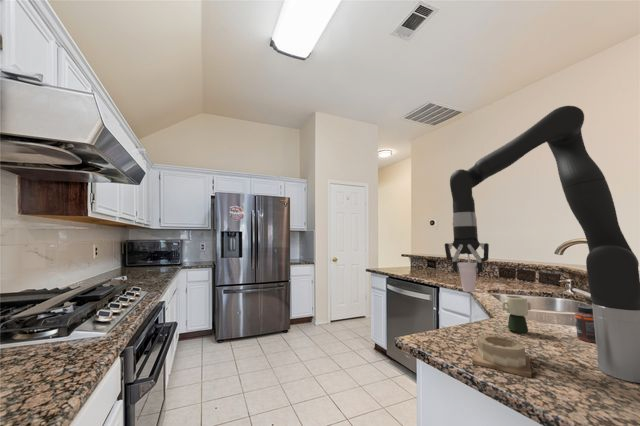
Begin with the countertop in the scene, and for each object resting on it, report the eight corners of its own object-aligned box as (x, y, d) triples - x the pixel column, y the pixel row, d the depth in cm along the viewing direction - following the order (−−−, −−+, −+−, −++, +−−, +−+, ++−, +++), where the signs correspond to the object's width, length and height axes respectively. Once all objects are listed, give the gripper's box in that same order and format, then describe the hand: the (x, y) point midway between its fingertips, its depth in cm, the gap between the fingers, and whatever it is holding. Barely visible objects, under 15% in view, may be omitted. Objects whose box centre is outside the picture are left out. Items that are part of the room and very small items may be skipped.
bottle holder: (529, 359, 77) (527, 340, 78) (531, 377, 67) (529, 355, 68) (477, 349, 85) (476, 331, 86) (472, 363, 75) (471, 343, 75)
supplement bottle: (606, 343, 90) (602, 309, 91) (588, 343, 90) (585, 309, 92) (589, 337, 96) (586, 305, 97) (572, 337, 96) (569, 304, 97)
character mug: (525, 328, 105) (522, 295, 107) (540, 335, 98) (537, 298, 100) (497, 328, 105) (495, 295, 107) (510, 334, 98) (507, 298, 100)
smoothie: (478, 293, 88) (475, 251, 90) (456, 291, 92) (454, 250, 94) (480, 290, 93) (477, 250, 95) (460, 288, 97) (458, 250, 99)
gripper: (489, 225, 94) (492, 273, 92) (445, 226, 103) (447, 270, 101) (487, 224, 88) (491, 275, 86) (440, 225, 97) (443, 272, 95)
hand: (467, 272), depth 93 cm, fingers closed on smoothie, 6 cm apart
